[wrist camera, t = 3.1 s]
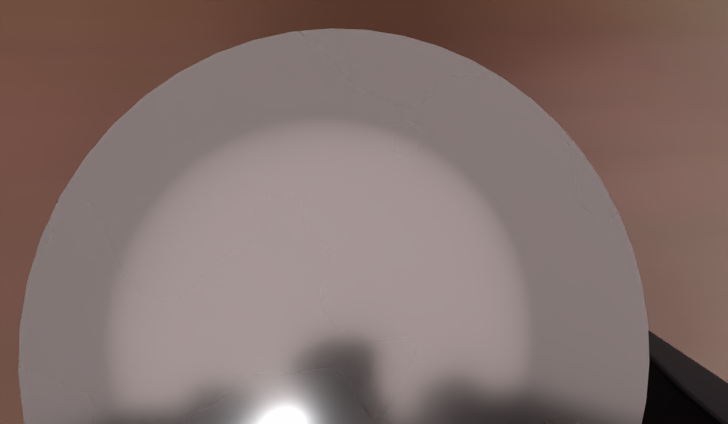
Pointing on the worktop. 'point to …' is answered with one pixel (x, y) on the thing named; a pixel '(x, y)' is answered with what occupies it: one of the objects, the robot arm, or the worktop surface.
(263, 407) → the grey can
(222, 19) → the worktop surface
